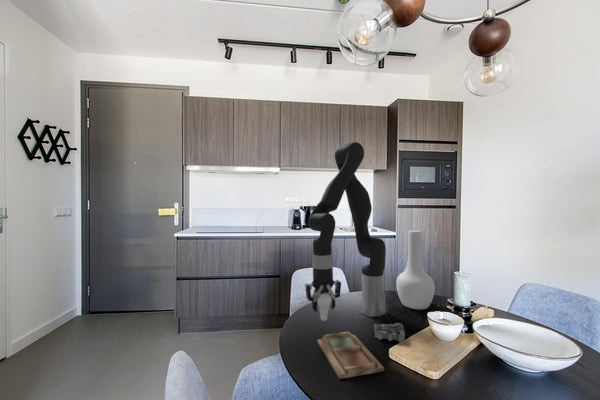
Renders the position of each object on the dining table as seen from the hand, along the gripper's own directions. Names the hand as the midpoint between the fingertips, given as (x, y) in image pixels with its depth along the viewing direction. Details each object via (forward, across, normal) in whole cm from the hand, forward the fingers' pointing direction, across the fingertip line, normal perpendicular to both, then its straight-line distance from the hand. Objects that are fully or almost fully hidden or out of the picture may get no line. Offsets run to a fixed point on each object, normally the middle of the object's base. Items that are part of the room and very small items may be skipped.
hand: (323, 309), depth 103 cm
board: (+9, -2, +16) cm, 18 cm away
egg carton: (+10, -22, +9) cm, 26 cm away
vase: (+10, -50, -14) cm, 53 cm away
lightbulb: (+4, 0, 0) cm, 4 cm away
